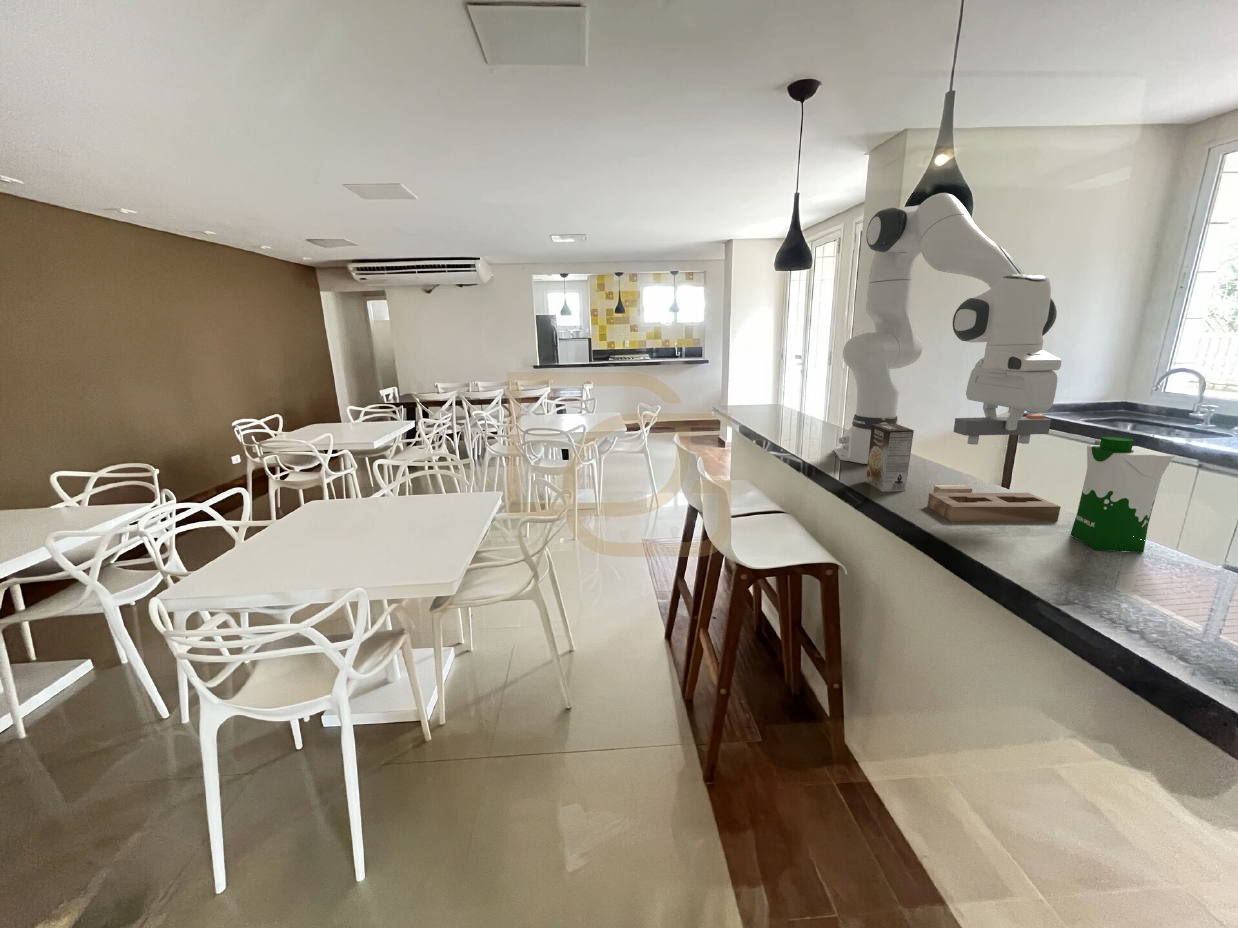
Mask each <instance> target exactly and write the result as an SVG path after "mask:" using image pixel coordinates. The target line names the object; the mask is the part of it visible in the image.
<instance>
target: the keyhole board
mask: <svg viewBox="0 0 1238 928" xmlns="http://www.w3.org/2000/svg"><path fill="white" fill-rule="evenodd" d="M926 506H927V508H929V509H931V510H932V511H934V512H936V513H937V514H938V515H940V516H942V517H943V518H944V519H946V520H948V521H950V522H1058V520H1059V516H1060V513H1061V506H1060V505H1059V504H1056V503H1053V502H1051V501H1049V500H1046V499H1045V498H1042V497H1039V496H1037V495H1035V494H1033V493H1030V492H972V493H933V492H929V494H928V499H927V505H926Z"/></svg>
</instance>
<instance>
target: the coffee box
mask: <svg viewBox="0 0 1238 928" xmlns="http://www.w3.org/2000/svg"><path fill="white" fill-rule="evenodd" d="M914 432H915V430H914V429H912V428H909V427H906V426H903V425H901V424H899V423H897V424H896V423H894V424H872V428H871V437H870V446H869V455H868V464H866V466H867V467H866V473H865V474H866V475H865V483H867V484H869V485H871V486H873V487H874V488H875V489H877V490H878V491H880V492H883V493H884V492H905V491H906V490H907V484H908V483H907V482H908V475H909V468H910V462H911V461H910V460H911V453H912V445H913V440H914V439H913V438H914Z"/></svg>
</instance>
